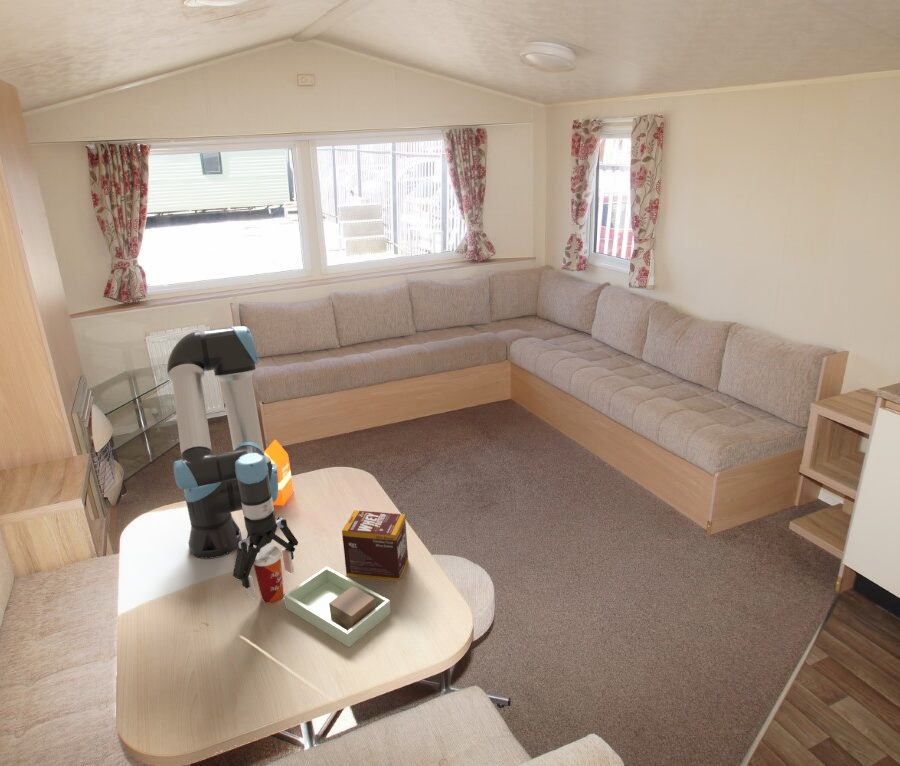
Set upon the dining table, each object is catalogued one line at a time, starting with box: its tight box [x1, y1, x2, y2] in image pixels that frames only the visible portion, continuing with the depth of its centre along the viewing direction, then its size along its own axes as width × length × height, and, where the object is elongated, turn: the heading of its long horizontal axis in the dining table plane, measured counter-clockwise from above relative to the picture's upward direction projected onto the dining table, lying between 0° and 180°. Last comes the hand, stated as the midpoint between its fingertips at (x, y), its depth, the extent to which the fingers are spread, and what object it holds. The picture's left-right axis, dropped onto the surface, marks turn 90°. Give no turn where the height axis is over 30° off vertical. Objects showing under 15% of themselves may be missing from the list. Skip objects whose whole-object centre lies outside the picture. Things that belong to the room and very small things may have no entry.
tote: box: [283, 566, 392, 648], centre depth 170 cm, size 24×15×5 cm, turn 52°
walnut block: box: [329, 586, 376, 631], centre depth 166 cm, size 8×8×6 cm
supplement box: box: [341, 510, 409, 582], centre depth 184 cm, size 10×15×16 cm
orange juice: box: [264, 439, 294, 506], centre depth 221 cm, size 8×9×20 cm
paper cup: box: [253, 544, 284, 604], centre depth 175 cm, size 8×8×14 cm
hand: (270, 583), depth 176 cm, fingers open, 12 cm apart
